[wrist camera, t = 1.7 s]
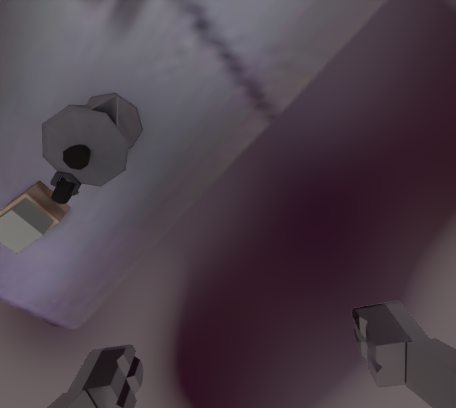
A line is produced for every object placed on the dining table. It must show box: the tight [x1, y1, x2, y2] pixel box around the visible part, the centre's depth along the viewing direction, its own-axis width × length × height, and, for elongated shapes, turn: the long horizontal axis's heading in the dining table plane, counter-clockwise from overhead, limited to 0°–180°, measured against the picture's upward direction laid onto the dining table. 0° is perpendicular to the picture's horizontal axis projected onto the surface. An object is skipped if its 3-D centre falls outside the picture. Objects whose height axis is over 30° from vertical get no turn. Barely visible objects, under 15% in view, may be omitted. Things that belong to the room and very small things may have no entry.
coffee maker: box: [42, 93, 143, 204], centre depth 34 cm, size 15×9×18 cm, turn 143°
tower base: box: [0, 181, 70, 230], centre depth 43 cm, size 6×6×5 cm
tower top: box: [0, 197, 54, 254], centre depth 39 cm, size 5×5×4 cm
